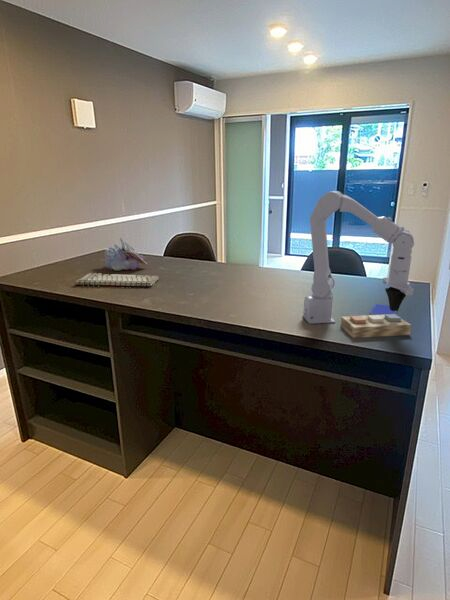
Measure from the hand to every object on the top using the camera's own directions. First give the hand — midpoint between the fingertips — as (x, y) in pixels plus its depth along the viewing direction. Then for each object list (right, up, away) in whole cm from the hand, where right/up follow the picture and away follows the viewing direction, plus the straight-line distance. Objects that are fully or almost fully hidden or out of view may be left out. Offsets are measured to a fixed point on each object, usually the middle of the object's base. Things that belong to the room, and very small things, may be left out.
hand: (393, 310), depth 126 cm
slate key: (0, -4, +1) cm, 4 cm away
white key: (-6, -4, +1) cm, 7 cm away
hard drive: (+4, -2, +18) cm, 19 cm away
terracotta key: (-12, -4, 0) cm, 13 cm away
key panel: (-6, -7, +2) cm, 9 cm away
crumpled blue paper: (-111, +21, +87) cm, 142 cm away
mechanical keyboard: (-107, +11, +59) cm, 123 cm away
